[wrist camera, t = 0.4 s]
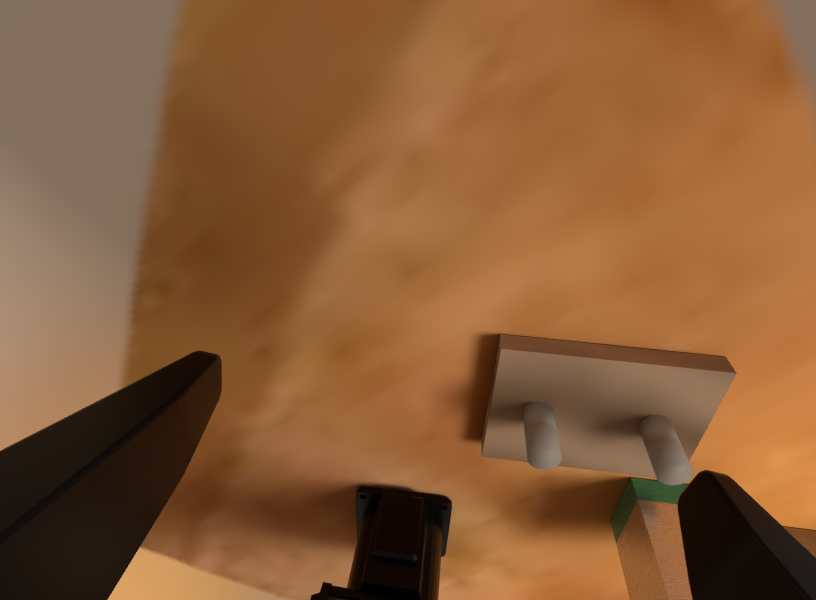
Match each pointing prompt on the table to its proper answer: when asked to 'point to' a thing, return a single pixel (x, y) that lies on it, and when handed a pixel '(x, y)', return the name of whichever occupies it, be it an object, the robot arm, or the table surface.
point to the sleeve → (651, 541)
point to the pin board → (601, 406)
